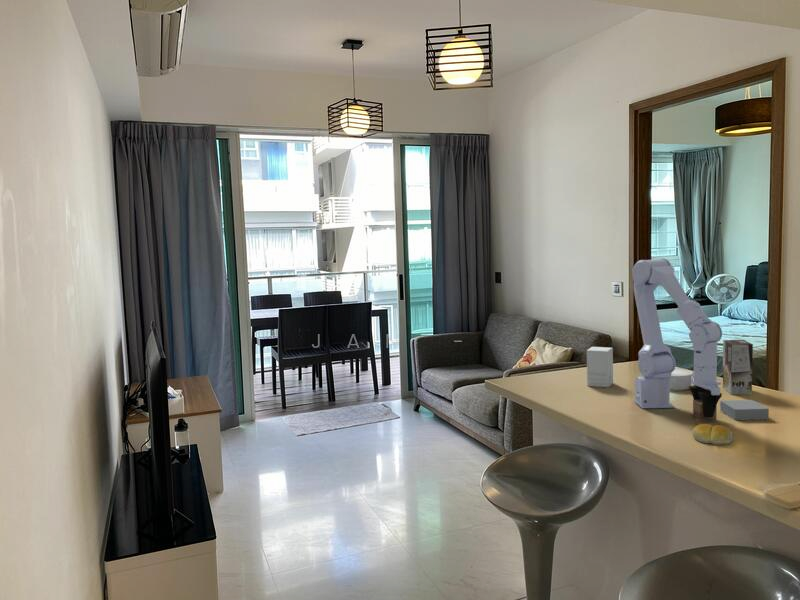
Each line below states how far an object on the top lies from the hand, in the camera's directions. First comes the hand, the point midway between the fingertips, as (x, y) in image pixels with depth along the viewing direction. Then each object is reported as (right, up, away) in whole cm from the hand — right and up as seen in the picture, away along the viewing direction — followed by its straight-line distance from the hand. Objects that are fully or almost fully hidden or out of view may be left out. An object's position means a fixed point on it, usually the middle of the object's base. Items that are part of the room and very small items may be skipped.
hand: (704, 414), depth 176 cm
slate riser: (+12, -1, +2) cm, 12 cm away
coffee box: (+24, +2, +28) cm, 36 cm away
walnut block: (0, -1, 0) cm, 1 cm away
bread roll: (-6, -4, -16) cm, 18 cm away
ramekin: (+7, +2, +36) cm, 36 cm away
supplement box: (-15, +2, +43) cm, 46 cm away
